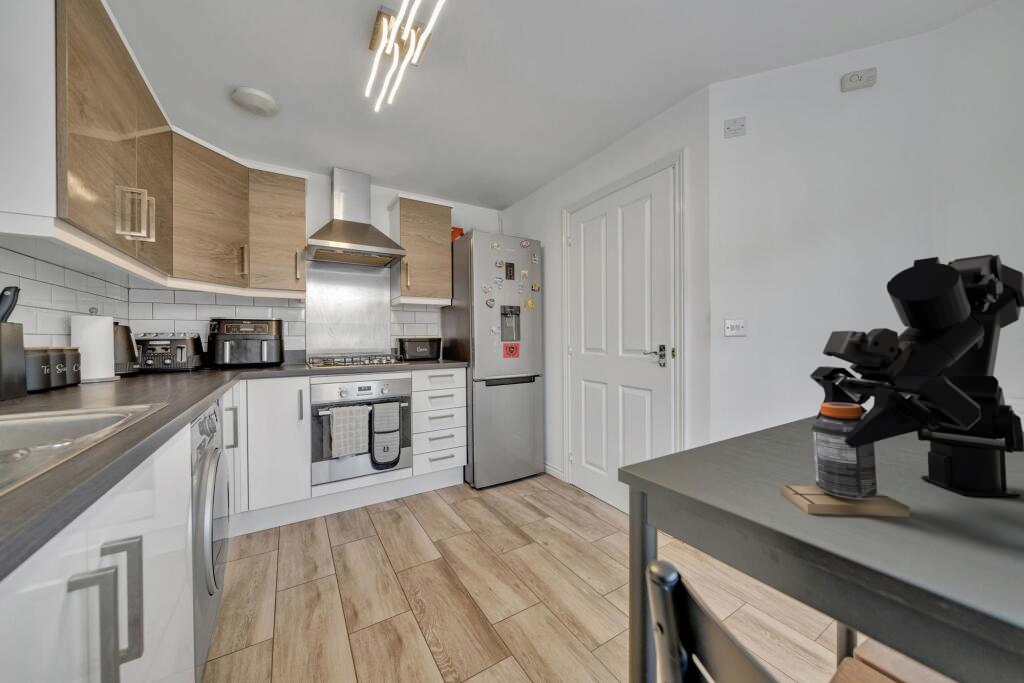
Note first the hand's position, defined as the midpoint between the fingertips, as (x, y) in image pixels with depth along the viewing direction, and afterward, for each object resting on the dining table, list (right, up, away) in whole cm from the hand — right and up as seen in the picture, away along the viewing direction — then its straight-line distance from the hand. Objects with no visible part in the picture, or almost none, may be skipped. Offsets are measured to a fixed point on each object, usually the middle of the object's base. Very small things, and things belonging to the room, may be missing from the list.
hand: (830, 438), depth 49 cm
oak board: (+1, -9, 0) cm, 9 cm away
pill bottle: (+2, -7, 0) cm, 7 cm away
